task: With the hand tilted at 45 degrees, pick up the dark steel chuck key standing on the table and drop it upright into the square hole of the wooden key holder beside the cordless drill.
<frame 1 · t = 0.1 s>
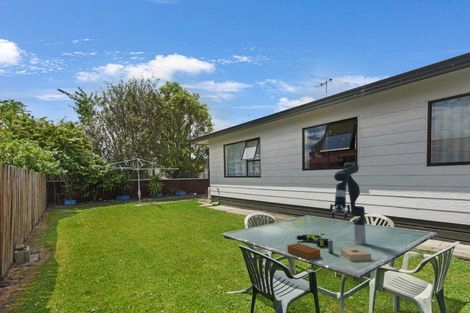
hand: (339, 218, 203), 31 cm above the table, tool tilted 20°, fingers open, 8 cm apart
cordless drill: (311, 244, 252), on the table
key holder: (355, 257, 210), on the table
brick: (303, 255, 221), on the table
chuck key: (330, 253, 223), on the table
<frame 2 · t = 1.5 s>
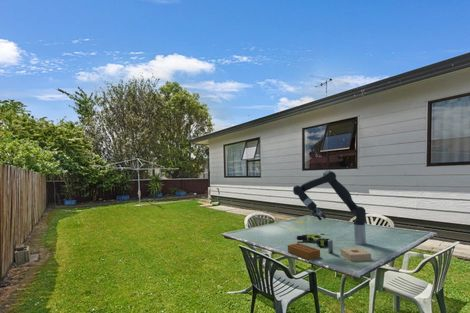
hand: (323, 218, 229), 27 cm above the table, tool tilted 45°, fingers open, 8 cm apart
nothing on the table moved.
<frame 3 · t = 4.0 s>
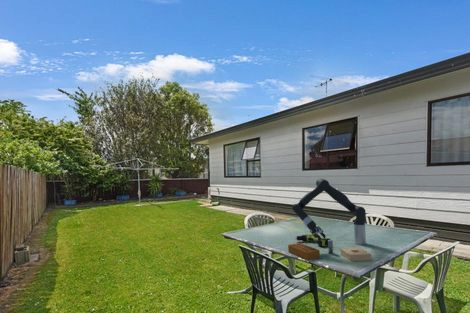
hand: (322, 238, 227), 11 cm above the table, tool tilted 45°, fingers open, 8 cm apart
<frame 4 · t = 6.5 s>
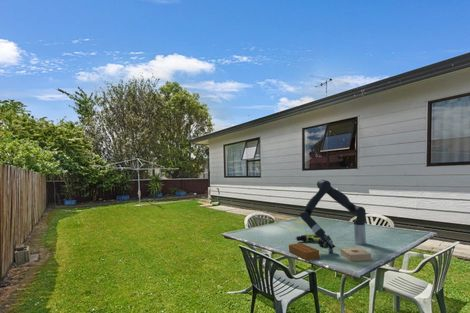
hand: (333, 247, 221), 5 cm above the table, tool tilted 45°, fingers closed on chuck key, 3 cm apart
chuck key: (330, 253, 223), on the table, touching gripper
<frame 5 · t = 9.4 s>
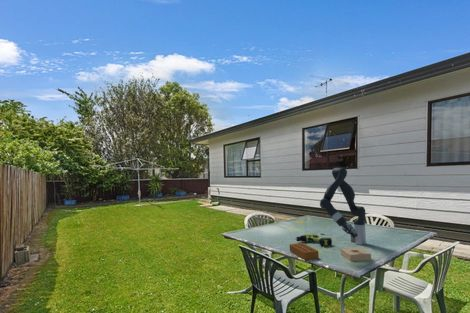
hand: (355, 236, 210), 16 cm above the table, tool tilted 45°, fingers closed on chuck key, 3 cm apart
chuck key: (353, 242, 211), point 11 cm above the table, touching gripper
when the fingers open (6 cm above the table, at t = 12.2 s): chuck key drops 2 cm, resting in key holder.
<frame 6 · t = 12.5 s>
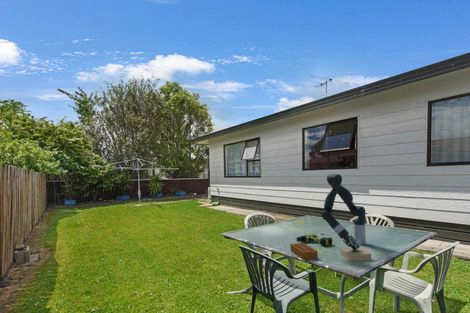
hand: (357, 248, 209), 7 cm above the table, tool tilted 45°, fingers open, 6 cm apart
chuck key: (355, 257, 210), resting in key holder
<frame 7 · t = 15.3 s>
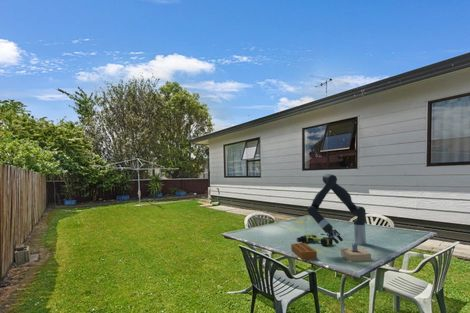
hand: (340, 241, 218), 10 cm above the table, tool tilted 45°, fingers open, 8 cm apart
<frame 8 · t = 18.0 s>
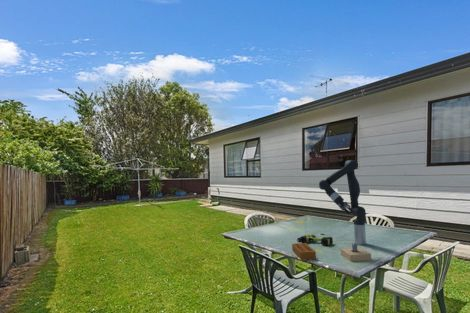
hand: (351, 212, 230), 31 cm above the table, tool tilted 45°, fingers open, 8 cm apart
at the end: chuck key 0.1 cm off-centre on the key holder, point 0.0 cm above the key holder's base; chuck key tilted 0°; the gripper is holding nothing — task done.
